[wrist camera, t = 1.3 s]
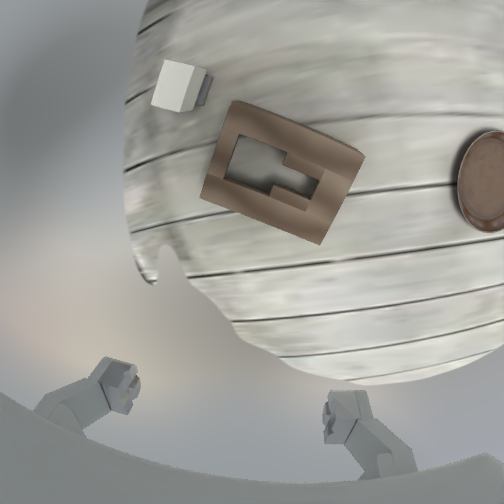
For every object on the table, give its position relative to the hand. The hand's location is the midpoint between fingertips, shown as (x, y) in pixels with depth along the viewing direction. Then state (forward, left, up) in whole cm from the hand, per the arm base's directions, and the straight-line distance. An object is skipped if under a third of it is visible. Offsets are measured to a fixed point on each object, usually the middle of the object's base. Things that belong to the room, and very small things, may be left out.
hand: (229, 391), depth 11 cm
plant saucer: (-16, +33, -36) cm, 51 cm away
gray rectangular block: (-8, -16, -36) cm, 40 cm away
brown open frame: (-1, 0, -36) cm, 36 cm away
